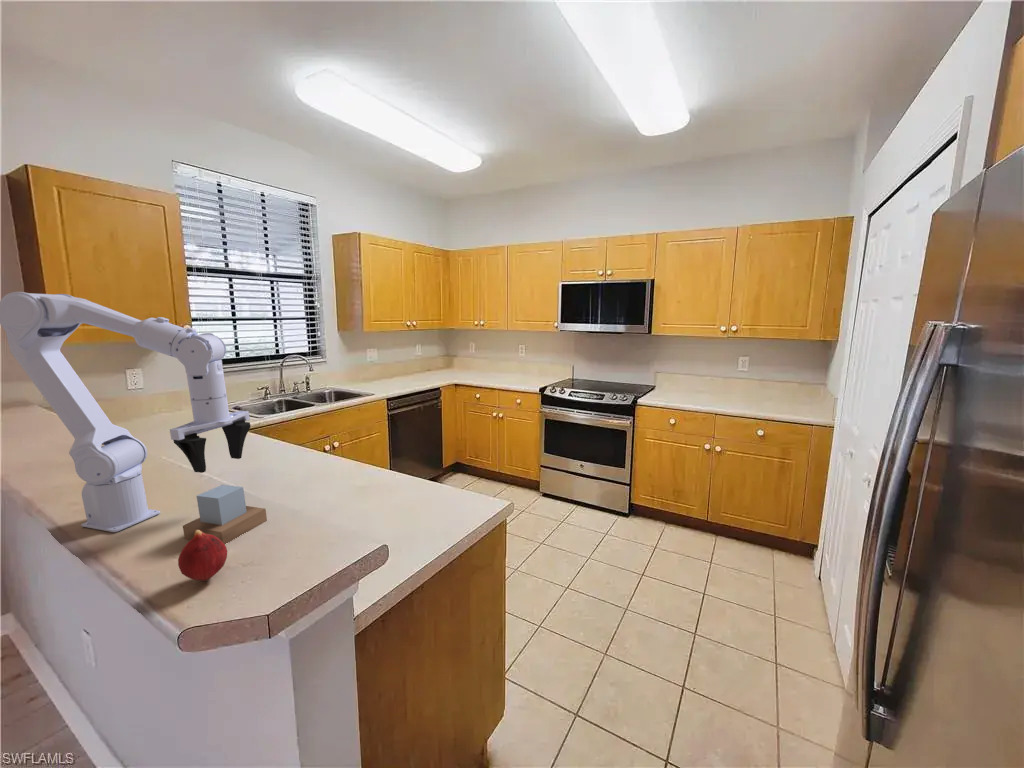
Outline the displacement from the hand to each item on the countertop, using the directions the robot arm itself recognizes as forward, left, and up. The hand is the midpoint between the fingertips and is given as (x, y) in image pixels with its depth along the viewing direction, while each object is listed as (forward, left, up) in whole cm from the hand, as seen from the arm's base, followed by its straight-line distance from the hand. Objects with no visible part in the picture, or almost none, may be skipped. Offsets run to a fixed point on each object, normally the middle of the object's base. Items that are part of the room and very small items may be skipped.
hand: (219, 464), depth 84 cm
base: (+7, -6, -10) cm, 14 cm away
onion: (+18, -18, -10) cm, 27 cm away
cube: (+7, -6, -7) cm, 12 cm away
